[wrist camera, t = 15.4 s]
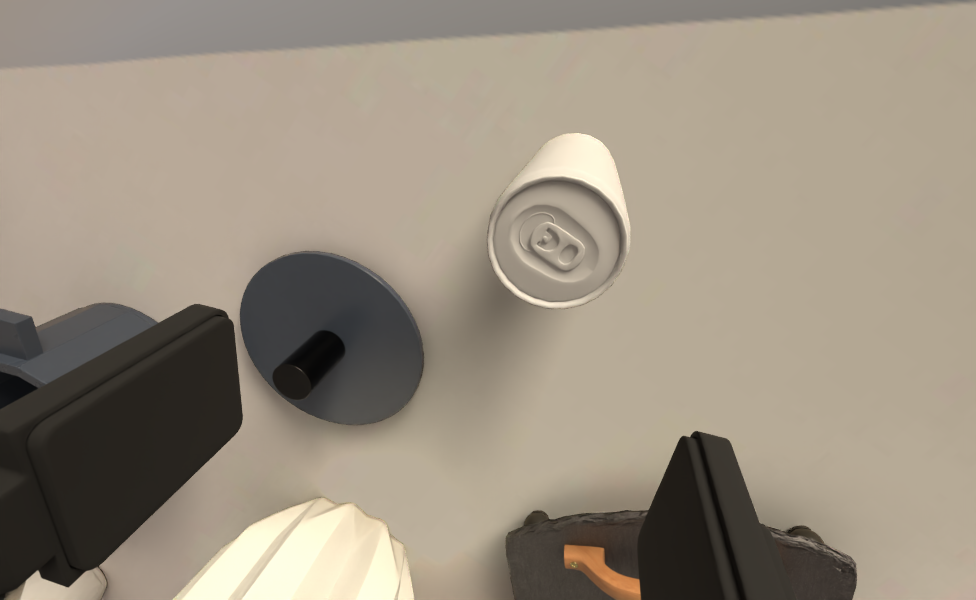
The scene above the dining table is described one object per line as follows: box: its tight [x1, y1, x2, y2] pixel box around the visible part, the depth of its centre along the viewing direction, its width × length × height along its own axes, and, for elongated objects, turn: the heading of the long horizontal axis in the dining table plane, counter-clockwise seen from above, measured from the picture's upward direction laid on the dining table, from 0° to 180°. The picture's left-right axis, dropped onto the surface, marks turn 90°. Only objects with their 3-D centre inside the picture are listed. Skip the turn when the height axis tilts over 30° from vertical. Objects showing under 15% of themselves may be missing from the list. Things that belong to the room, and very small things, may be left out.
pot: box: [0, 303, 158, 409], centre depth 36 cm, size 13×18×8 cm
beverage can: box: [487, 133, 631, 309], centre depth 21 cm, size 5×5×12 cm
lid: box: [240, 251, 424, 425], centre depth 32 cm, size 14×14×6 cm
